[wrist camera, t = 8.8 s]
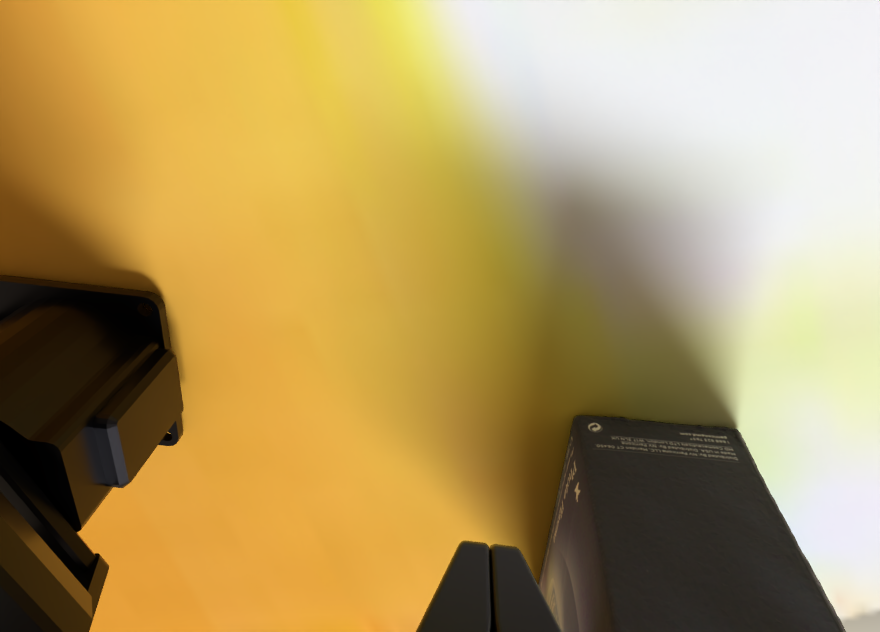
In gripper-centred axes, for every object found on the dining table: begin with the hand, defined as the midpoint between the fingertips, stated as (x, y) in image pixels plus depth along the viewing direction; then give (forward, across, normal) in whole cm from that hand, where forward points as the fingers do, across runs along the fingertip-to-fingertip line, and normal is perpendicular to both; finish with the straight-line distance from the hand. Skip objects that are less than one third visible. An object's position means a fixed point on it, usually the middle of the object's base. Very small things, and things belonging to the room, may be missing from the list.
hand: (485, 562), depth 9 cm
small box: (+12, -7, +11) cm, 18 cm away
